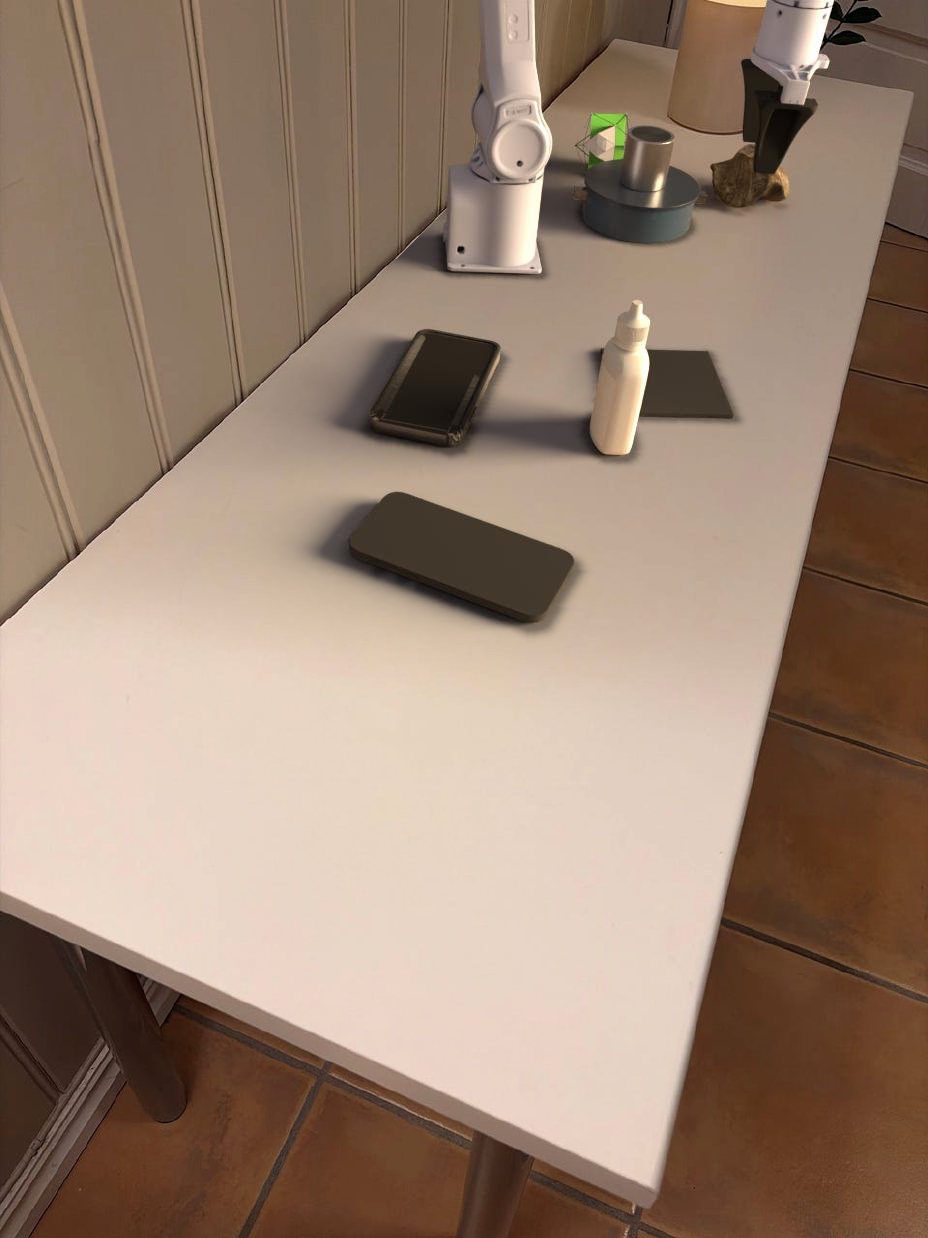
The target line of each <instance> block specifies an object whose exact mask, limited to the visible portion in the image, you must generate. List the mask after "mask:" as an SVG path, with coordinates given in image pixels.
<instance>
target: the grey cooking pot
mask: <svg viewBox="0 0 928 1238" xmlns="http://www.w3.org/2000/svg"><path fill="white" fill-rule="evenodd" d="M622 161H623V159H617V160H609V161H605V162H601V163H598V164H596V165H594V166H592V167H590V168H589V169H588V168H587V169H586V170H585V174H584V177H583V178H584V179H583V183H584V186H576V185H575V186H573V193H572V196H573V199H574V200H583V204H582V210H581V216H582V218H583V221H584V222H585V223H586V224H587V225H588V226H589V228H591V229H593V230H595V231H596V232H597V233H600V234H603V235H604V236H607V237H610V238H612V239H616V240H620V241H624V242H630V243H638V244H658V243H666V242H671V241H675V240H678V239H679V238H681V237H682V236H684V235H685V234H686V233H688V230H689V228H690V225H691V220H692V217H693V211H694V207H695V204H696V205H697V204H698V205H705V204H706V201H707V197H708V194H707V192H706V191H703V190H701V186H700V184H699V182H698V181H697V180H696V179H695V178H694V177H693V176H692V175H690V174H689V173H687V172H686V171H684V170H682V169H679V168H677V167H675V166H672V165H669V170H668V175H667V179H666V184H665V187H664V188H663V189H661V190H659V191H654V192H642V191H636V190H632V189H630V188H627V187H625V186H624V185H622V184H621V182H620V173H621V167H622Z"/></svg>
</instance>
